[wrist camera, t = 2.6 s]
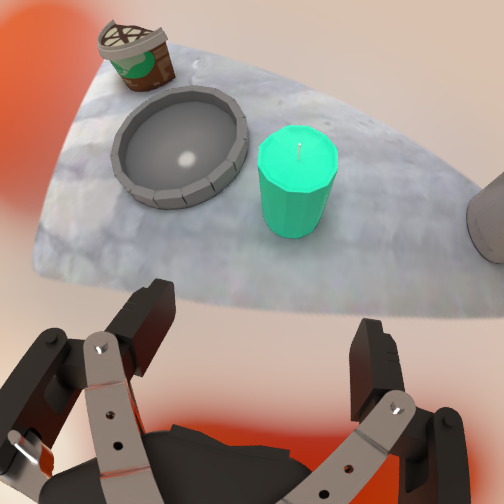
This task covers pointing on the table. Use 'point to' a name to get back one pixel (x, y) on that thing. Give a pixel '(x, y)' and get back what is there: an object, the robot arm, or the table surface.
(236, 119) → the plate
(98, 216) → the table surface
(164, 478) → the robot arm
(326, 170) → the candle
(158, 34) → the food container
